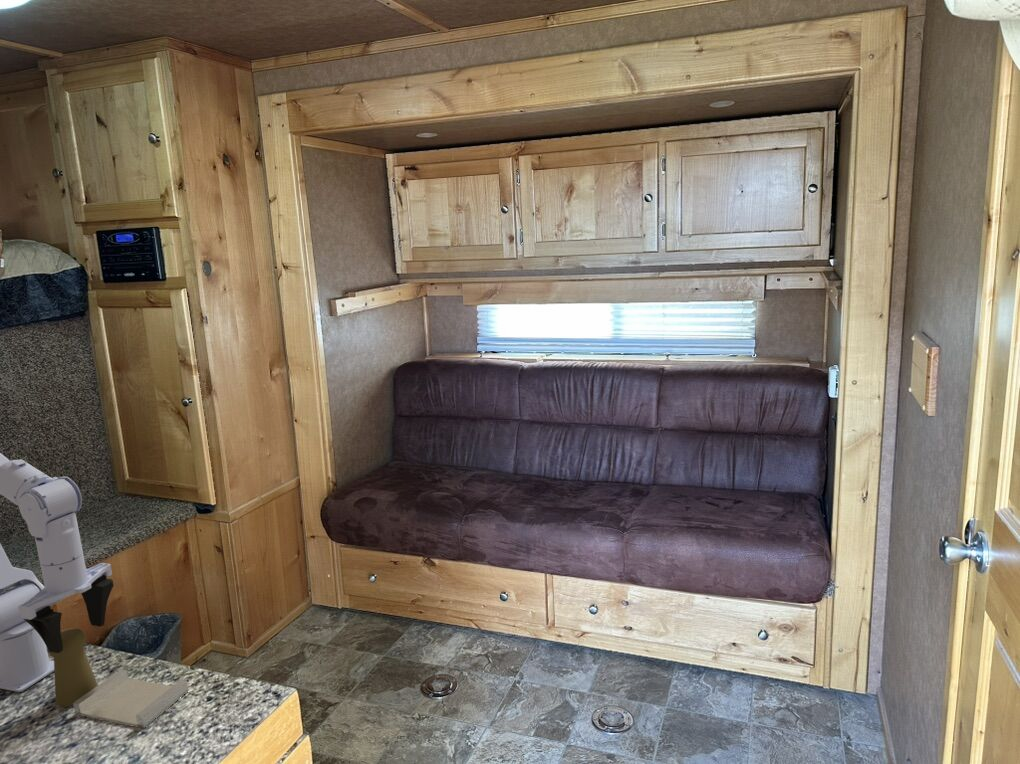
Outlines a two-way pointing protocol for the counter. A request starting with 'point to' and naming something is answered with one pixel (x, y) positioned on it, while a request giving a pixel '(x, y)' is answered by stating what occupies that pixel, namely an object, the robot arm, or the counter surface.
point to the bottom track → (129, 700)
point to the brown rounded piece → (72, 669)
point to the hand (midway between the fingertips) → (77, 637)
